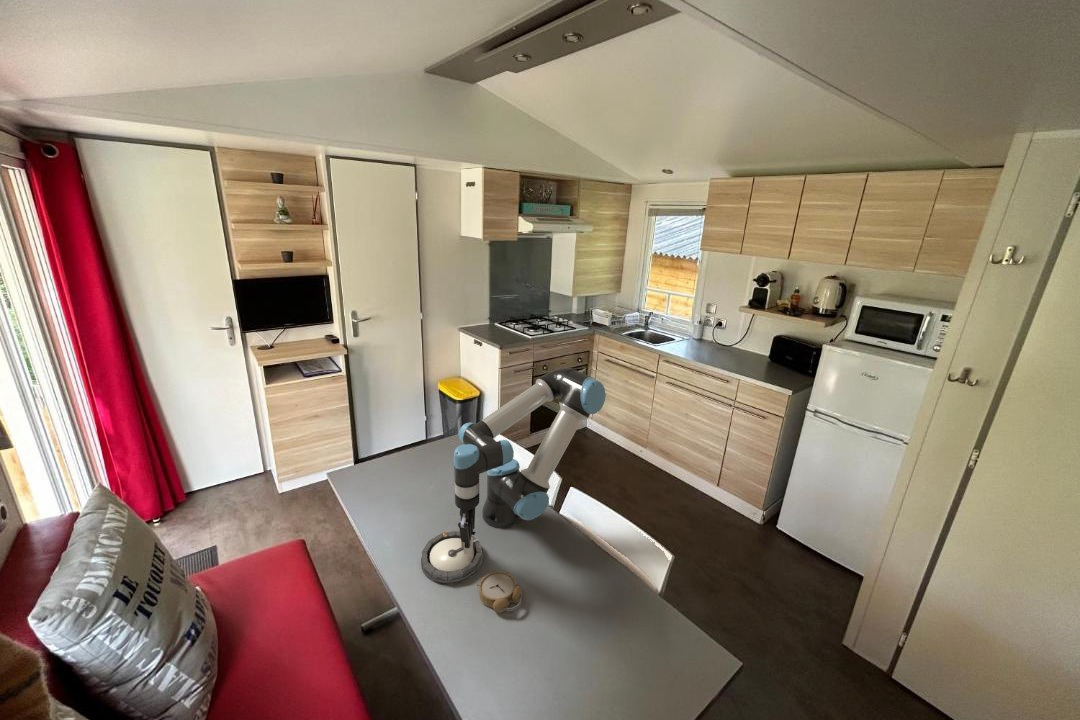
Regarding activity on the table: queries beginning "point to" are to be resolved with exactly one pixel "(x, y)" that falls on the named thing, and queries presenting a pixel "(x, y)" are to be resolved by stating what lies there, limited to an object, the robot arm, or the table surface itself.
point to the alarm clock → (499, 591)
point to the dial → (450, 555)
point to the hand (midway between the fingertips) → (468, 552)
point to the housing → (450, 576)
